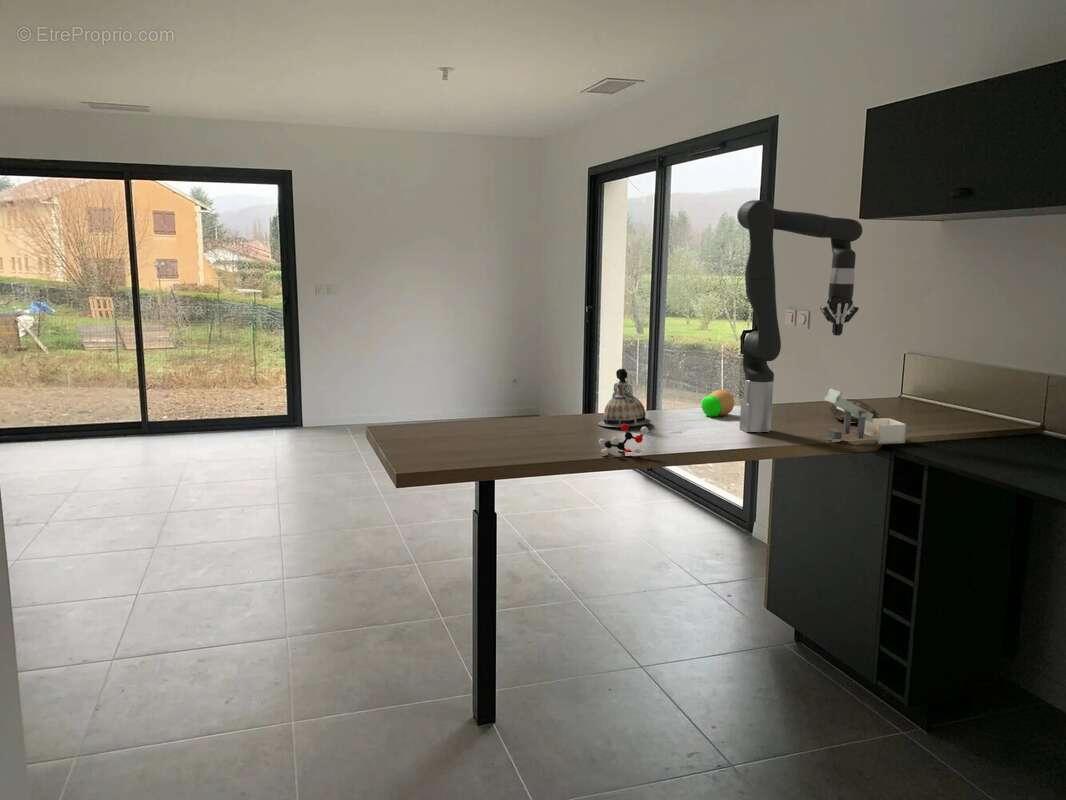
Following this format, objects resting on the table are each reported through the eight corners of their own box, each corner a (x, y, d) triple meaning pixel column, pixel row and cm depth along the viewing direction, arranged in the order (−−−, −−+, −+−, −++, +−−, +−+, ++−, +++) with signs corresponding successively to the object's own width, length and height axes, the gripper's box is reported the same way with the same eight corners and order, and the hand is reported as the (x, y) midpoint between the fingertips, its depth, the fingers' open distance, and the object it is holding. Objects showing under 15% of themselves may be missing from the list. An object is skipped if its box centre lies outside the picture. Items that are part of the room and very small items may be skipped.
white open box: (878, 444, 248) (880, 425, 247) (861, 437, 257) (863, 419, 256) (904, 443, 249) (906, 424, 248) (887, 436, 258) (889, 418, 257)
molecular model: (608, 470, 231) (594, 440, 229) (606, 461, 239) (593, 432, 237) (657, 450, 229) (643, 420, 227) (654, 442, 237) (641, 412, 235)
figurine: (589, 422, 278) (591, 366, 275) (636, 420, 284) (638, 365, 281) (611, 431, 261) (614, 371, 258) (660, 429, 267) (663, 371, 264)
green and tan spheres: (737, 386, 285) (713, 395, 279) (741, 412, 286) (718, 421, 280) (714, 386, 295) (691, 395, 289) (719, 411, 296) (696, 420, 290)
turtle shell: (850, 412, 268) (822, 390, 287) (846, 436, 272) (818, 413, 290) (894, 410, 271) (863, 389, 289) (889, 434, 274) (859, 411, 292)
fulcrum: (840, 446, 245) (843, 413, 243) (819, 436, 257) (821, 404, 255) (874, 444, 247) (877, 412, 245) (851, 435, 259) (854, 403, 257)
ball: (879, 429, 251) (888, 428, 252) (873, 427, 255) (882, 426, 255) (879, 439, 252) (888, 438, 253) (873, 436, 255) (882, 435, 256)
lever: (834, 403, 245) (840, 391, 245) (807, 393, 262) (812, 382, 262) (877, 425, 249) (883, 413, 249) (847, 413, 266) (853, 403, 265)
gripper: (828, 282, 252) (824, 336, 256) (866, 283, 255) (861, 336, 258) (817, 281, 260) (812, 334, 263) (854, 282, 262) (849, 334, 265)
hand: (837, 335), depth 260 cm, fingers closed
